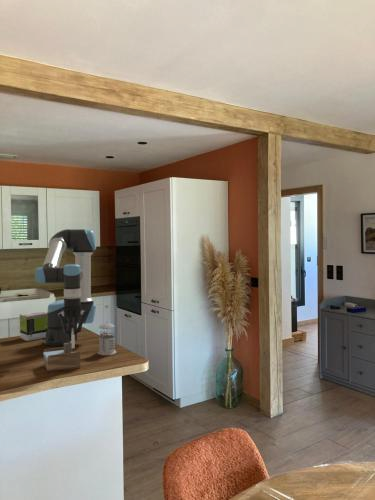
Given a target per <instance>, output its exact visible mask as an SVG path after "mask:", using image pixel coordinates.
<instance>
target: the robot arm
mask: <svg viewBox="0 0 375 500" xmlns="http://www.w3.org/2000/svg"><path fill="white" fill-rule="evenodd" d="M96 243H97V242H96V237H95V232H94V230H92V229H86V228H85V229H79V228H78V229H69V228H66V229H62V230H60V231H57V232H56V233H55V234H54V235H53V236H51V238H50V240H49V241H48V249H47V253H46V255H45V259H44V262H43V264H42V266H41V267H36V268H35V271H34V281H35V282H36V283H38V284H54V283H55V284H59V283H60V284H63V297H64V298H63V300H61V301H55V302H51V303H49V304H48V305H47V311H46V312H47V313H48V330H47V334H46V337H45V338H44V345H46V346H53V347H54V346H55V347H56V346H59V347H60V346H64V343H71V344H72V348H76V347H75V346H76V345H75V344H76V341H77V340H78V333H81V332H82V328H83V324H85V325H87V324H93V322H94V321H95V316H96V307H97V303H96V302H94V299H93V297H92V296H91V295H92V293H91V291H92V289H91V288H92V285H91V284H92V280H91V278H92V277H91V271H92V262H91V259H92V258H91V257H92V255H93V254H94V251H95V250H97V244H96ZM66 250H70V251H71V250H72V254H73V255H74V256H75V258H74V259H75V260H74V261H75V262H74V263H75V264H65V265H63V266H62V267H59V266H60V264H61V260H62V257H63V254H64V252H66ZM72 324H73V332H74V333H72Z"/></svg>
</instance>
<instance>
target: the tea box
mask: <svg viewBox="0 0 375 500" xmlns="http://www.w3.org/2000/svg"><path fill="white" fill-rule="evenodd" d="M47 312H48V311H44V310H41V311H36V312H35V311H34V312H28V313H27V312H26V313H21V314H19V337H20V339H21V338H22V340H24V341H26V342H28V341H29V342H30V341H35V340H40V339H45V337H46V334H47V330H48V313H47Z"/></svg>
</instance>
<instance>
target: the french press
mask: <svg viewBox="0 0 375 500" xmlns="http://www.w3.org/2000/svg"><path fill="white" fill-rule="evenodd" d="M104 307H105V308H110V307H109V305H108V304H106V305H105V306H104ZM115 327H116V326H115V325H114V324H113V323H108V322H106V323H102V324H100V325H99V327H98V328H99V329H101V331H100V332H99V337H98V339H99V341H98V343H99V350H98V351H97V355H101V356H110V355H115V354H116V353H117V351H116V350H115V334H114V332H108V331H105V330H110V329H113V328H115ZM102 329H103V330H102Z"/></svg>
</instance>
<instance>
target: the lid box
mask: <svg viewBox="0 0 375 500" xmlns="http://www.w3.org/2000/svg"><path fill="white" fill-rule="evenodd" d="M75 348H76V347H75ZM75 348H72V352H73V353H65V354H57V355H49V356H48V361H47V360H46V358H45V357H44V356H43V366H44V368H45V370H46V371H47V373H49V372H50V373H54V372H55V371H57V372H63V371H62V370H64V371H70V370H75V369H81V351H75ZM58 350H64V346H62V347H60V346H59V347H52V348H44V349H43V352H50V351H58ZM55 373H56V372H55Z"/></svg>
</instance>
